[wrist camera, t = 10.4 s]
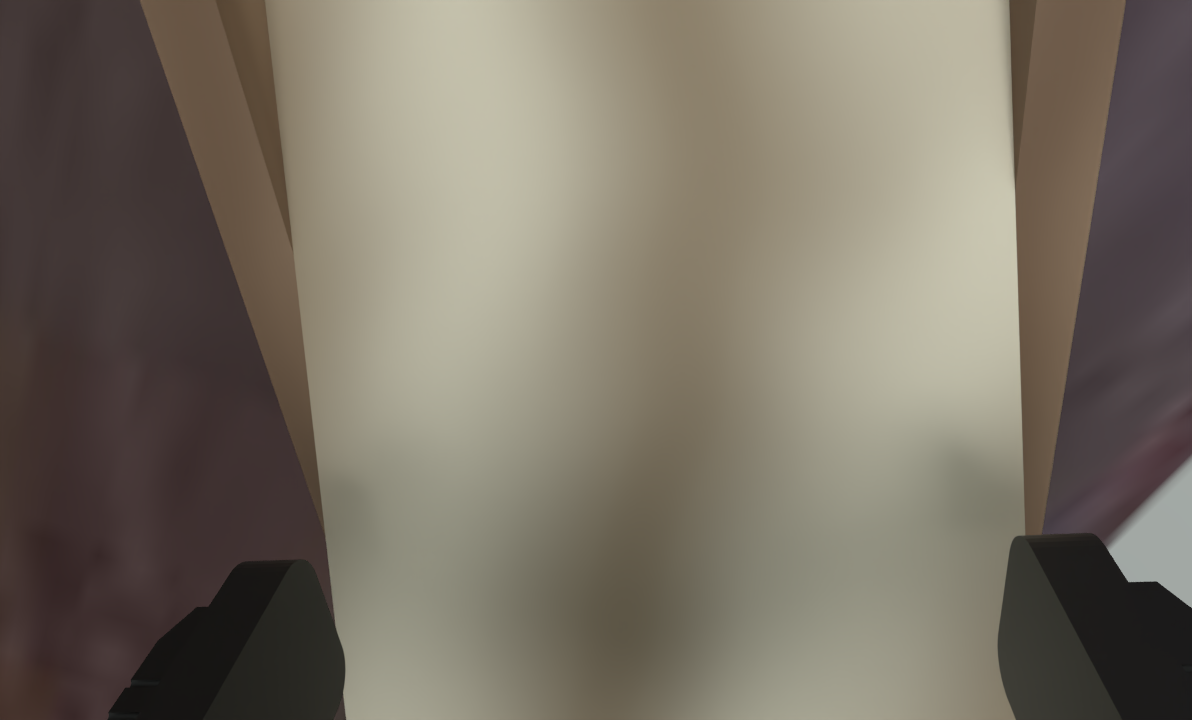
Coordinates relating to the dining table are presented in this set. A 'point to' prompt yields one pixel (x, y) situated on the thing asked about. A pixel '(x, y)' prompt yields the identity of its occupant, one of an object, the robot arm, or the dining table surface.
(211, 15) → the track
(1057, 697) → the robot arm
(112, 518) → the dining table surface
